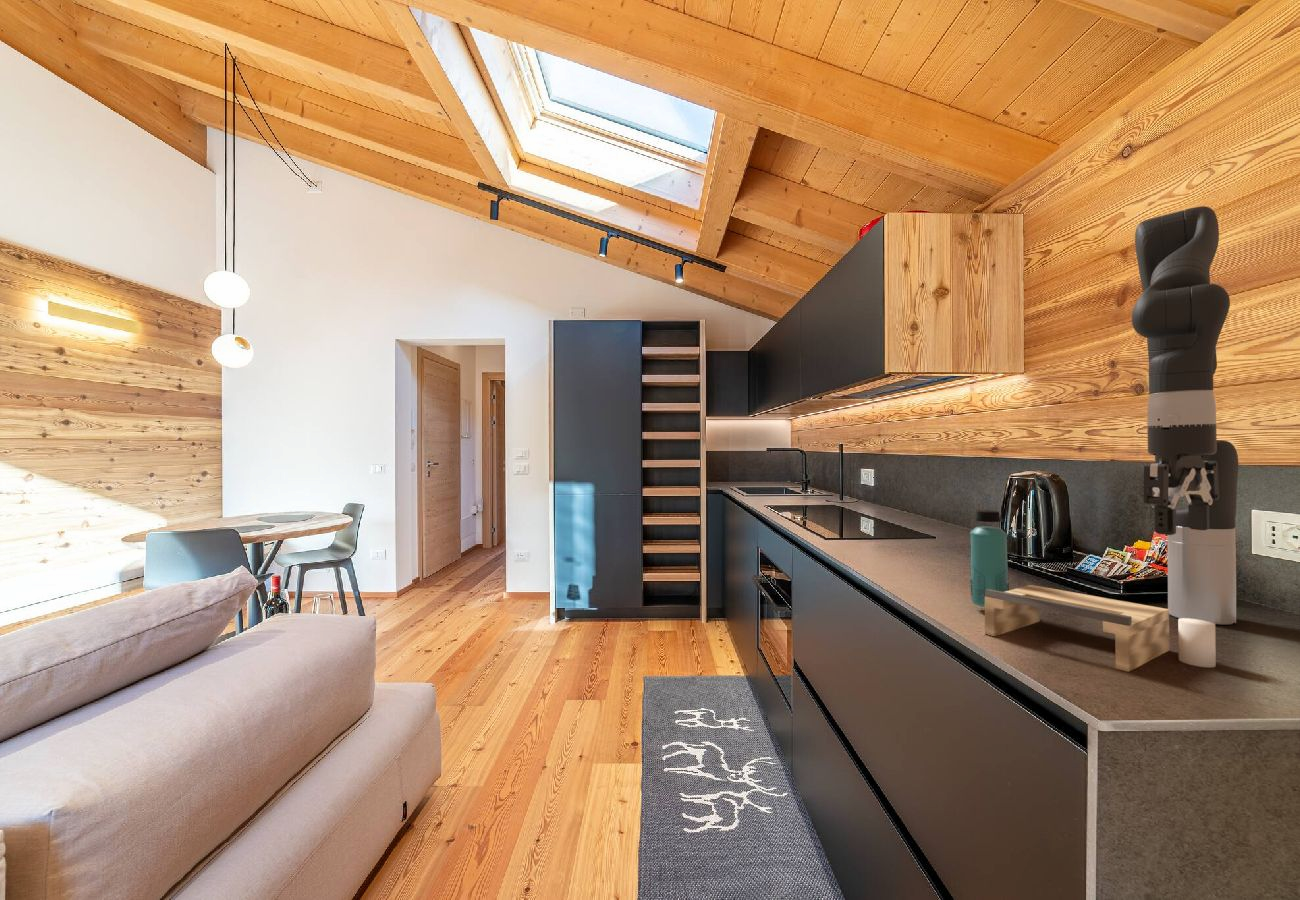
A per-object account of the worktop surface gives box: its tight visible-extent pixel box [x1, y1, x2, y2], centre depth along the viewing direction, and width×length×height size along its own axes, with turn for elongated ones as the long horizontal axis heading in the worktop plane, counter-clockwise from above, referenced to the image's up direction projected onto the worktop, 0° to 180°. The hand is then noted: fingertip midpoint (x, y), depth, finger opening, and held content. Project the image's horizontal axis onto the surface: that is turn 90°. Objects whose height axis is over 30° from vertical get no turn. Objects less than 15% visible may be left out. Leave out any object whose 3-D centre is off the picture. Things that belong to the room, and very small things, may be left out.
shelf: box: [984, 584, 1170, 673], centre depth 95 cm, size 16×20×8 cm
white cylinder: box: [1177, 618, 1217, 668], centre depth 85 cm, size 4×4×6 cm
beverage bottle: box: [969, 509, 1010, 608], centre depth 113 cm, size 6×7×20 cm
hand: (1182, 531), depth 85 cm, fingers open, 8 cm apart
